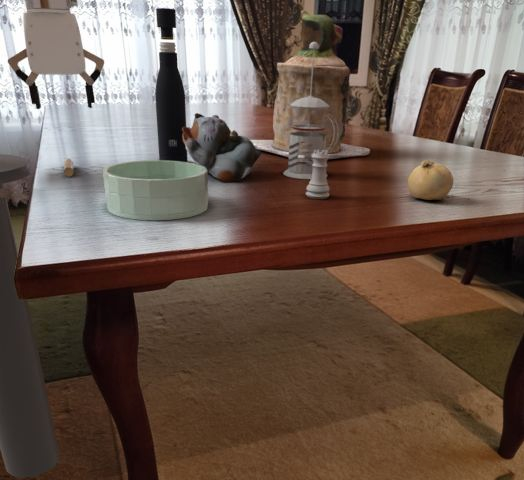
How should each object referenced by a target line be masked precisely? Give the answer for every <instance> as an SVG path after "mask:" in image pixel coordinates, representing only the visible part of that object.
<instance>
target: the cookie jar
mask: <svg viewBox="0 0 524 480" xmlns="http://www.w3.org/2000/svg"><path fill="white" fill-rule="evenodd" d="M300 18H301V21H302V22H301V23H300V26H301V30H300V31H299V36H300V39H301V43H302V48H301V49H299V50H298V52H297V53H295V55H293V56H292V57H290V58H288V60H286V61H285V62H277V63H276V70H277V72H278V74H279V76H278V83H277V90H276V97H275V99H274V108H273V116H272V117H273V120H272V121H273V122H272V129H273V133H274V138H273V139H249V140H250V141H251V142H252V143H253V145H254V146H255V148H256V150H259V151H262V152H263V151H264V152H267V153H272V154H275V155H278V156H279V155H280V156H282V157H286V158H289V142H290V133H292V132H316V133H322V134H326V147H325V151H326V150H327V149H328V148H329V147H330V145H331V144H332V141H333V135H334V129H333V125H332V122H333V124H334V127H335V138H334V141H333V144H332V146H331V148H332V147H333V146H334V144H335V142H336V139H337V132H338V129H337V125H336V122H335V121H334V119H333V118H332V117H331V116H330V115H332V116H333V117H334V118H335V120H336V121H337V124H338V127H339V135H338V140H337V143H336V145H335V147H334V148H333V149H332V150H330V151H328V155H329V159H328V160H334V159H342V158H343V159H346V158H353V157H354V158H355V157H364V156H365V157H366V156H368V155H369V154H370V153H371V149H370V148H367V147H364V146H357V145H351V144H348V143H347V144H346V143H342V140H343V139H344V137H345V136H346V126H345V123H346V121H347V106H348V104H349V103H350V95H351V86H350V78H351V77H350V76H351V70H350V68H349V67H348V66H347V64H346V63H345V61H344V60H343V59H341V58H340V57H338V56H337V49H336V48H335V46H337V45H338V44H340V43H342V40H343V39H342V38H343V31H344V30H343V28H342V27H341V26H339V25H337V24H335V23H334V19H333V18H332V17H329V16H328V15H327V14H310V13H309V12H308V11H307V10H301V13H300ZM312 42H317V43H318V45H319V49H314V62H313V76H312V61H313V48H309V47H310V44H311V43H312ZM311 76H312V91H311V96H313V97H315V98H319V99H321V100H323V101H324V102H325V103H327V104H328V105H329V106H330V107H329V108H328V109H324V110H310V120H309V110H308V109H296V108H291V104H292V103H293V102H295V101H296V100H298V99H300V98H305V97H308V96H310V90H311ZM328 114H330V115H329V116H328V117H330V119H331V120H332V122H331V121H330V119H329V118H328V121H327V122H324V121H326V120H327V117H326V116H324V115H328ZM323 116H324V121H323ZM308 120H309V124H310V125H311V124H312V125H323V126H325V130H322V131H301V130H295V129H293V128H292V125H296V124H306V125H308ZM322 143H324V140H323V142H322ZM299 145H304V146H307V145H310V144H309V143H301V142H299ZM310 148H313V147H310ZM331 148H330V149H331ZM322 149H323V150H324V147H323V146H322ZM298 151H299V152H307V151H309V150H306V149H298ZM310 154H311V155H312V153H310ZM306 157H307V156H304V155H299V156H298V158H306ZM310 161H312V159H310Z"/></svg>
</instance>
